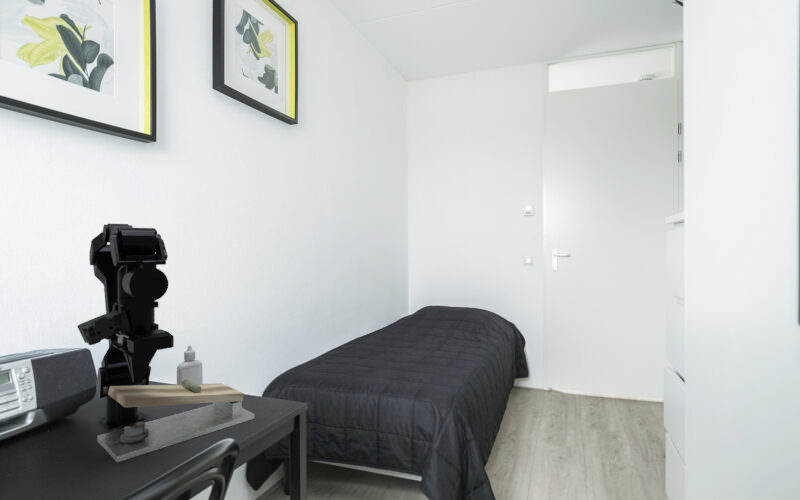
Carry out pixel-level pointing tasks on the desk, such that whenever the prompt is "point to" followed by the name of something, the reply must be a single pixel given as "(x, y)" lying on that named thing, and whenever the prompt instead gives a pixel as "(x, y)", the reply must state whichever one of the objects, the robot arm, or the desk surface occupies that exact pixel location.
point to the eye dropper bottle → (189, 368)
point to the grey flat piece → (172, 429)
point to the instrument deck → (173, 394)
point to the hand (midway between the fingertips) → (136, 382)
